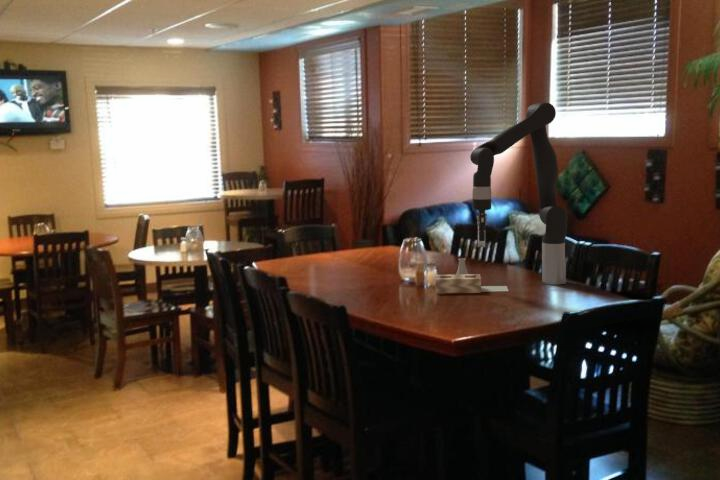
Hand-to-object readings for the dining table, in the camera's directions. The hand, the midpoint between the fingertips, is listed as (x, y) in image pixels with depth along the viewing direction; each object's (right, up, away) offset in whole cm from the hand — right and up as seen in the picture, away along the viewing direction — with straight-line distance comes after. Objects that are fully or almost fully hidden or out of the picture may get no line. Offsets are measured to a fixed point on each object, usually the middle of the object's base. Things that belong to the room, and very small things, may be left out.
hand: (481, 240), depth 290 cm
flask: (-5, -18, +23) cm, 29 cm away
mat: (+5, -20, +3) cm, 21 cm away
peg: (0, -3, 0) cm, 3 cm away
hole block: (-9, -21, +3) cm, 23 cm away
